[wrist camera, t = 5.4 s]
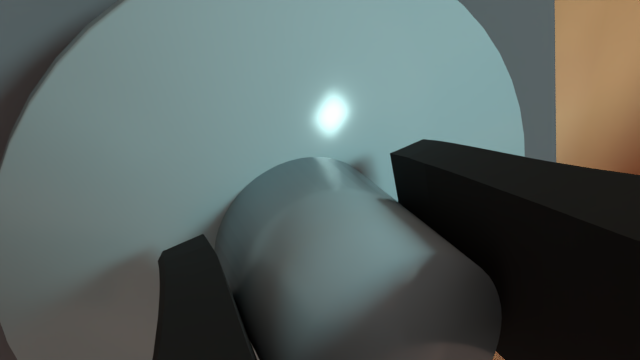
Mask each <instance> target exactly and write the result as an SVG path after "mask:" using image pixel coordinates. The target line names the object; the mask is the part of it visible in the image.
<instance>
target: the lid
mask: <svg viewBox="0 0 640 360" xmlns="http://www.w3.org/2000/svg"><path fill="white" fill-rule="evenodd" d="M422 139H427V140H437V141H444V142H450V143H456V144H461V145H467V146H472V147H477V148H482V149H487V150H492V151H498V152H503V153H508V154H513V155H518V156H523V157H525V150H524V132H523V125H522V119H521V112H520V107H519V103H518V100H517V96H516V93H515V89H514V86H513V82H512V79H511V77H510V75H509V73H508V71H507V68H506V66H505V64H504V62H503V59H502V57H501V55H500V53H499V51H498V50H497V48H496V47H495V45H494V44H493V42H492V41H491V39H490V37H489V36H488V34H487V33H486V31H485V30H484V28H483V27H482V26H481V25H480V24H479V22H478V21H477V20H476V19H475V18H474V17H473V16H472V15H471V13H470V12H469V11H468V10H467V9H466V8H465V7H464V6H463V5H462V4H461V3H460V2H459V1H458V0H118V1H116V2H115V3H114V4H113V5H111V6H110V7H109V8H108V9H106V10H105V11H104V12H103V13H101V14H100V15H99V16H97V17H96V18H95V19H94V20H92V21H91V22H90V23H89V24H87V25H86V26H85V27H84V28H83V29H82V31H81V32H80V33H79V34H78V35H77V36H76V37H75V38H74V39H73V40H72V41H71V42H70V43H69V44H68V45H67V46H66V47H65V49H64V50H63V51H62V52H61V53H60V54H59V55H58V56H57V57H56V58H55V59H54V61H53V62H52V64H51V65H50V66H49V68H48V69H47V71H46V72H45V74H44V75H43V76H42V78H41V79H40V81H39V82H38V84H37V85H36V86H35V88H34V89H33V91H32V92H31V93H30V95H29V97H28V99H27V101H26V103H25V105H24V107H23V109H22V111H21V113H20V115H19V117H18V119H17V121H16V123H15V125H14V127H13V129H12V131H11V133H10V135H9V138H8V141H7V144H6V148H5V151H4V154H3V157H2V160H1V163H0V323H1V326H2V329H3V331H4V334H5V337H6V340H7V342H8V344H9V346H10V348H11V350H12V351H13V353H14V355H15V357H16V358H17V360H152V359H153V353H154V344H155V336H156V328H157V320H158V309H159V292H160V278H159V266H158V259H159V257H160V255H161V253H162V251H164V250H167V249H169V248H171V247H174V246H176V245H178V244H181V243H183V242H185V241H187V240H190V239H192V238H194V237H197V236H199V235H201V234H204V236H205V237H206V239H207V240H208V241H209V243H210V244H211V246H212V248H213V249H214V251H215V253H216V254H217V256H218V259H219V261H220V264H221V267H222V269H223V272H224V274H225V277H226V280H227V282H228V285H229V287H230V290H231V293H232V295H233V298H234V301H235V303H236V306H237V308H238V311H239V314H240V316H241V319H242V321H243V324H244V327H245V329H246V332H247V334H248V337H249V340H250V342H251V345H252V347H253V350H254V353H255V355H256V358H257V360H492V359H493V356H494V354H495V351H496V348H497V345H498V341H499V336H500V332H501V322H502V312H501V303H500V299H499V295H498V292H497V290H496V287H495V285H494V283H493V282H492V280H491V279H490V277H489V276H488V275H487V274H486V273H485V271H484V270H483V269H482V268H480V267H479V266H478V265H477V264H475V263H474V262H473V261H472V260H470V259H469V258H468V257H467V256H465V255H464V254H463V253H462V252H460V251H459V250H458V249H457V248H455V247H454V246H453V245H452V244H450V243H449V242H448V241H446V240H445V239H444V238H443V237H441V236H440V235H439V234H438V233H436V232H435V231H434V230H433V229H431V228H430V227H429V226H428V225H426V224H425V223H424V222H423V221H421V220H420V219H419V218H418V217H416V216H415V215H414V214H413V213H411V212H410V211H409V210H408V209H406V208H405V207H404V206H402V205H401V204H400V203H399V202H398V197H397V192H396V186H395V180H394V174H393V169H392V163H391V157H390V153H392V152H394V151H397V150H399V149H401V148H404V147H406V146H408V145H411V144H413V143H415V142H418V141H420V140H422Z"/></svg>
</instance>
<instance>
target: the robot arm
mask: <svg viewBox="0 0 640 360" xmlns="http://www.w3.org/2000/svg"><path fill="white" fill-rule="evenodd" d="M390 157H391V163H392V169H393V174H394V180H395V186H396V192H397V197H398V202H399V203H400V204H401V205H402V206H404V207H405V208H406V209H408V210H409V211H410V212H411V213H413V214H414V215H415V216H416V217H418V218H419V219H420V220H421V221H423V222H424V223H425V224H426V225H428V226H429V227H430V228H431V229H433V230H434V231H435V232H436V233H438V234H439V235H440V236H441V237H443V238H444V239H445V240H446V241H448V242H449V243H450V244H452V245H453V246H454V247H455V248H457V249H458V250H459V251H460V252H462V253H463V254H464V255H465V256H467V257H468V258H469V259H470V260H472V261H473V262H474V263H475V264H477V265H478V266H479V267H480V268H482V269H483V270H484V271H485V273H486V274H487V275H488V276H489V277H490V279H491V280H492V282H493V283H494V285H495V287H496V290H497V292H498V295H499V299H500V303H501V312H502V322H501V332H500V336H499V341H498V345H497V348H496V351H497V352H498V353H499V354H500V355H501V356H502V357H503V358H504V359H505V360H640V175H634V174H627V173H620V172H613V171H606V170H599V169H592V168H585V167H579V166H573V165H567V164H561V163H556V162H550V161H544V160H539V159H534V158H528V157H523V156H518V155H513V154H508V153H503V152H498V151H492V150H487V149H482V148H477V147H472V146H467V145H461V144H456V143H450V142H444V141H437V140H427V139H422V140H420V141H418V142H415V143H413V144H411V145H408V146H406V147H404V148H401V149H399V150H397V151H394V152H392V153H390ZM158 266H159V278H160V292H159V309H158V320H157V328H156V336H155V344H154V353H153V359H152V360H257V358H256V355H255V353H254V350H253V347H252V345H251V342H250V340H249V337H248V334H247V332H246V329H245V327H244V324H243V321H242V319H241V316H240V314H239V311H238V308H237V306H236V303H235V301H234V298H233V295H232V293H231V290H230V287H229V285H228V282H227V280H226V277H225V274H224V272H223V269H222V267H221V264H220V261H219V259H218V256H217V254H216V253H215V251H214V249H213V248H212V246H211V244H210V243H209V241H208V240H207V239H206V237H205V236H204V234H201V235H199V236H197V237H194V238H192V239H190V240H187V241H185V242H183V243H181V244H178V245H176V246H174V247H171V248H169V249H167V250H164V251H162V253H161V255H160V257H159V259H158Z"/></svg>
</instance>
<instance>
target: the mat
mask: <svg viewBox="0 0 640 360" xmlns="http://www.w3.org/2000/svg"><path fill="white" fill-rule="evenodd" d="M116 1H118V0H0V163H1V160H2V157H3V154H4V151H5V148H6V144H7V141H8V138H9V135H10V133H11V131H12V129H13V127H14V125H15V123H16V121H17V119H18V117H19V115H20V113H21V111H22V109H23V107H24V105H25V103H26V101H27V99H28V97H29V95H30V93H31V92H32V91H33V89H34V88H35V86H36V85H37V84H38V82H39V81H40V79H41V78H42V76H43V75H44V74H45V72H46V71H47V69H48V68H49V66H50V65H51V64H52V62H53V61H54V59H55V58H56V57H57V56H58V55H59V54H60V53H61V52H62V51H63V50H64V49H65V47H66V46H67V45H68V44H69V43H70V42H71V41H72V40H73V39H74V38H75V37H76V36H77V35H78V34H79V33H80V32H81V31H82V29H83V28H84V27H85V26H86V25H87V24H89V23H90V22H91V21H92V20H94V19H95V18H96V17H97V16H99V15H100V14H101V13H103V12H104V11H105V10H106V9H108V8H109V7H110V6H111V5H113V4H114V3H115V2H116ZM458 1H459V2H460V3H461V4H462V5H463V6H464V7H465V8H466V9H467V10H468V11H469V12H470V13H471V15H472V16H473V17H474V18H475V19H476V20H477V21H478V22H479V24H480V25H481V26H482V27H483V28H484V30H485V31H486V33H487V34H488V36H489V37H490V39H491V41H492V42H493V44H494V45H495V47H496V48H497V50H498V51H499V53H500V55H501V57H502V59H503V62H504V64H505V66H506V68H507V71H508V73H509V75H510V77H511V79H512V82H513V86H514V89H515V93H516V96H517V100H518V103H519V107H520V112H521V119H522V125H523V132H524V150H525V157H528V158H534V159H539V160H544V161H550V162H556V106H555V9H554V0H458ZM0 360H17V358H16V357H15V355H14V353H13V351H12V350H11V348H10V346H9V344H8V342H7V340H6V337H5V334H4V331H3V329H2V326H1V323H0Z"/></svg>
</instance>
